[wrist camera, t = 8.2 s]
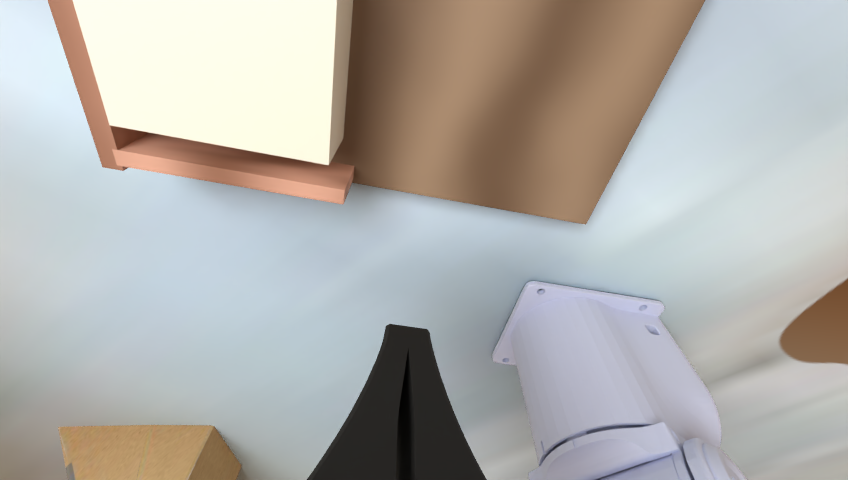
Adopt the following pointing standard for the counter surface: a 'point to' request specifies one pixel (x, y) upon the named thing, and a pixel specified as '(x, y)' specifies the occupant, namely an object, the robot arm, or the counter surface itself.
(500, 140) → the open-sided wooden box
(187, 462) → the sandwich container
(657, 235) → the counter surface
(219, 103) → the carton
